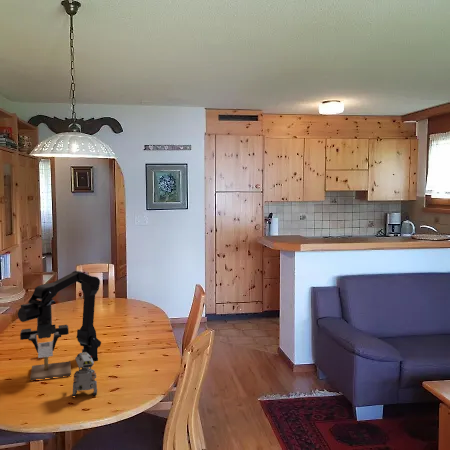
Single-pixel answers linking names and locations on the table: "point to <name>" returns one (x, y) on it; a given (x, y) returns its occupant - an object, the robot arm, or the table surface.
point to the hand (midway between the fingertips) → (45, 351)
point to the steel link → (45, 349)
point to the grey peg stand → (50, 370)
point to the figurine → (84, 374)
